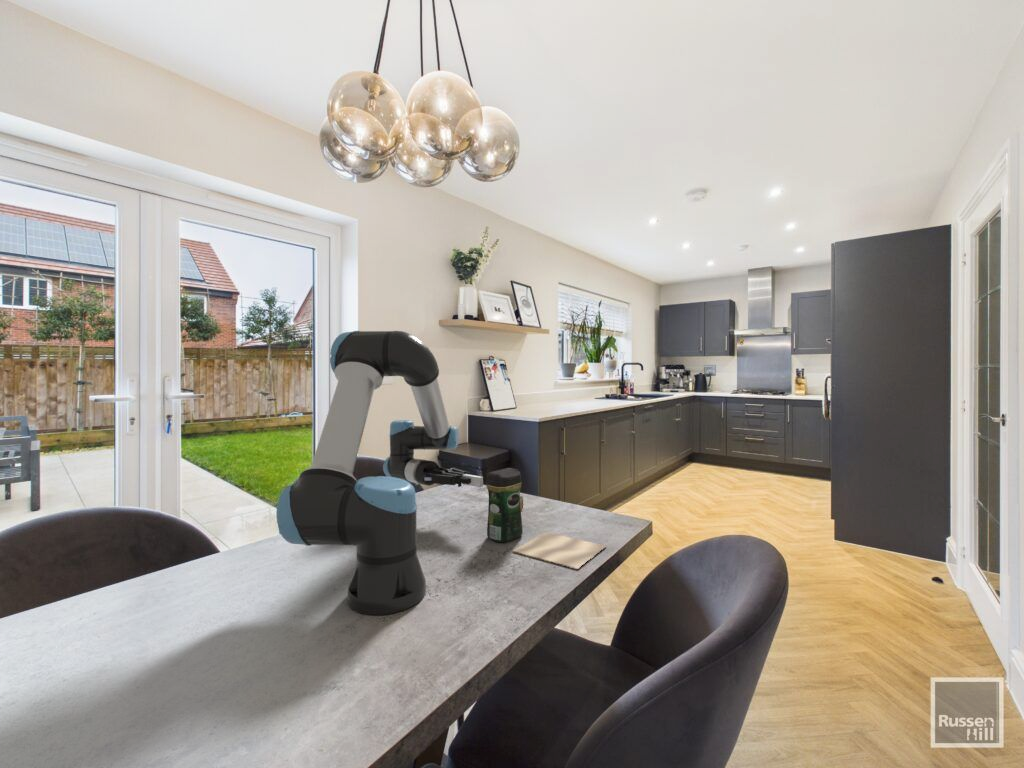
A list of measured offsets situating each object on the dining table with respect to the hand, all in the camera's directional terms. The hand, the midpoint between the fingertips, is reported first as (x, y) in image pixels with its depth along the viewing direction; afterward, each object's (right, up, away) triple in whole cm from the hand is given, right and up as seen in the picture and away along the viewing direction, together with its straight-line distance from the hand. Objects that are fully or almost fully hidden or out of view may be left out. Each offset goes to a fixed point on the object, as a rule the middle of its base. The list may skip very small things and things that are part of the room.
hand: (481, 481), depth 126 cm
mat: (+21, -14, -14) cm, 29 cm away
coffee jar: (+7, -14, -4) cm, 16 cm away
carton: (+8, -14, +16) cm, 22 cm away
